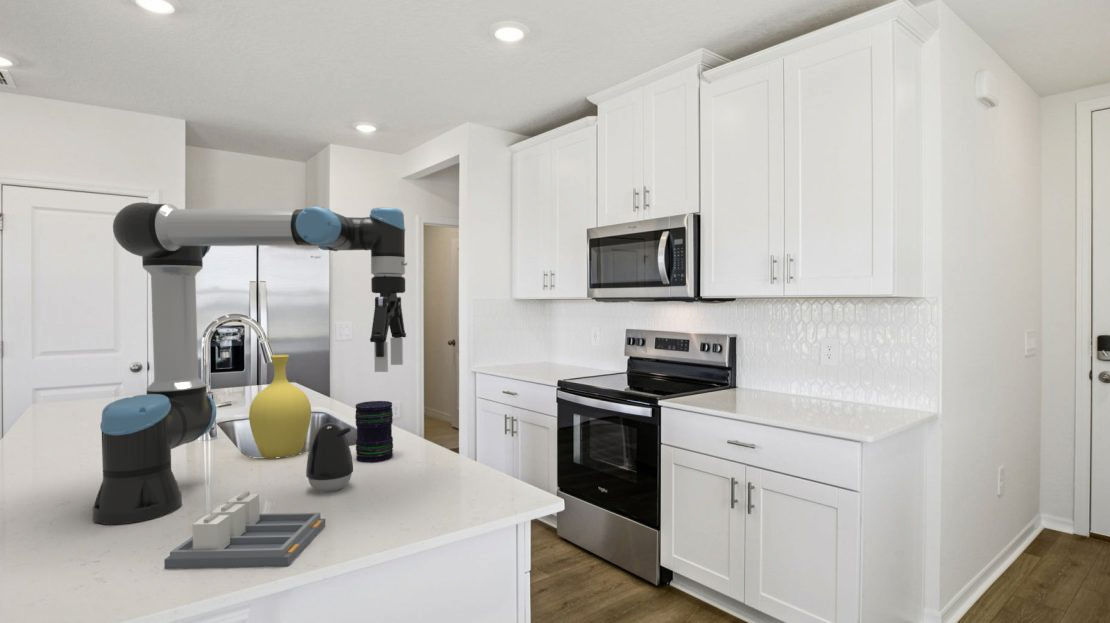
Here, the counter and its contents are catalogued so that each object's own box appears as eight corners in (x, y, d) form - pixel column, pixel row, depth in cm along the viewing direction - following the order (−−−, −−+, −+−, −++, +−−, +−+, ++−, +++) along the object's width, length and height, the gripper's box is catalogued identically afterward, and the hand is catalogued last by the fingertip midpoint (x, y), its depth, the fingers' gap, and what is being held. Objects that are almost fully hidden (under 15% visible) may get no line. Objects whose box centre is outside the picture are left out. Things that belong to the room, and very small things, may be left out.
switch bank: (164, 568, 97) (164, 552, 97) (220, 528, 114) (220, 514, 114) (288, 566, 97) (287, 549, 97) (325, 526, 114) (325, 512, 114)
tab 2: (211, 540, 104) (210, 509, 103) (223, 531, 108) (222, 501, 107) (234, 540, 104) (233, 508, 103) (245, 531, 108) (245, 500, 107)
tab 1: (193, 554, 98) (192, 520, 98) (206, 544, 102) (205, 511, 102) (217, 553, 98) (216, 520, 98) (230, 543, 102) (229, 511, 102)
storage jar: (401, 456, 165) (400, 402, 164) (372, 464, 157) (372, 408, 156) (376, 451, 170) (375, 399, 170) (348, 459, 162) (347, 405, 162)
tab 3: (227, 528, 109) (226, 498, 109) (238, 520, 113) (237, 491, 113) (249, 528, 109) (248, 498, 109) (259, 520, 113) (259, 491, 113)
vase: (268, 446, 177) (266, 352, 176) (321, 446, 176) (319, 352, 176) (237, 461, 161) (235, 358, 160) (296, 461, 160) (294, 358, 160)
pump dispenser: (338, 497, 131) (337, 429, 131) (296, 494, 133) (295, 427, 133) (362, 483, 141) (361, 419, 141) (323, 480, 143) (322, 418, 143)
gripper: (390, 273, 124) (391, 374, 125) (416, 277, 149) (417, 361, 150) (354, 273, 124) (355, 375, 124) (386, 277, 149) (387, 362, 149)
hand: (389, 368), depth 137 cm, fingers open, 13 cm apart
